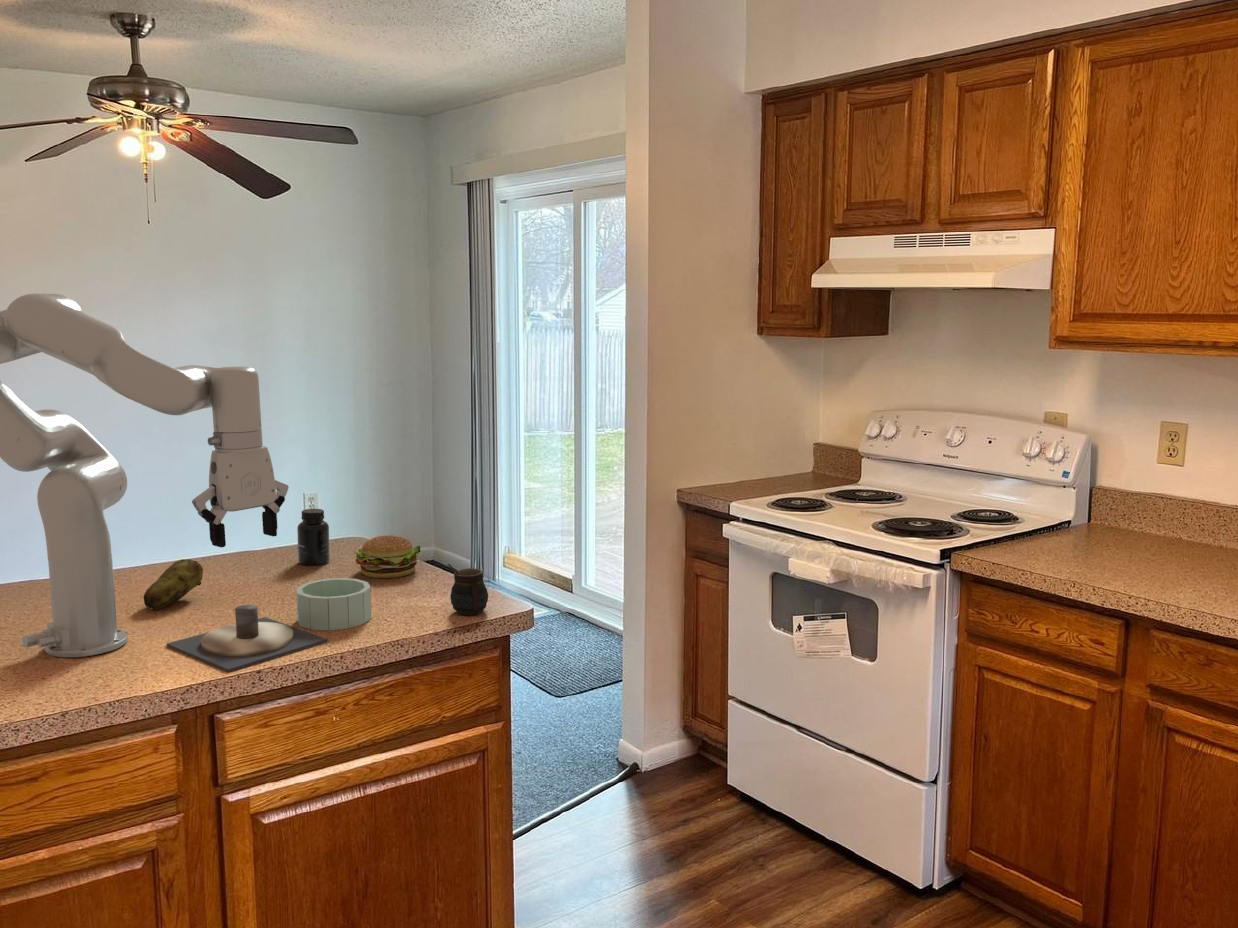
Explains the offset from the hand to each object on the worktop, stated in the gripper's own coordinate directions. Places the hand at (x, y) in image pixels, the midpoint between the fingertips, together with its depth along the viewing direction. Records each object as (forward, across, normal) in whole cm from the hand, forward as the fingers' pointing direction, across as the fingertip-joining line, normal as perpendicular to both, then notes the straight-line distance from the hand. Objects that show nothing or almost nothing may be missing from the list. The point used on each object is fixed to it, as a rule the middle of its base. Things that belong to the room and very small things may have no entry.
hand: (245, 540), depth 173 cm
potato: (+18, +4, +32) cm, 37 cm away
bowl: (+18, +18, 0) cm, 26 cm away
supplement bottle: (+19, +40, +38) cm, 58 cm away
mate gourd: (+19, +37, -16) cm, 44 cm away
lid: (+18, 0, 0) cm, 18 cm away
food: (+19, +45, +18) cm, 52 cm away
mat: (+18, 0, 0) cm, 18 cm away
